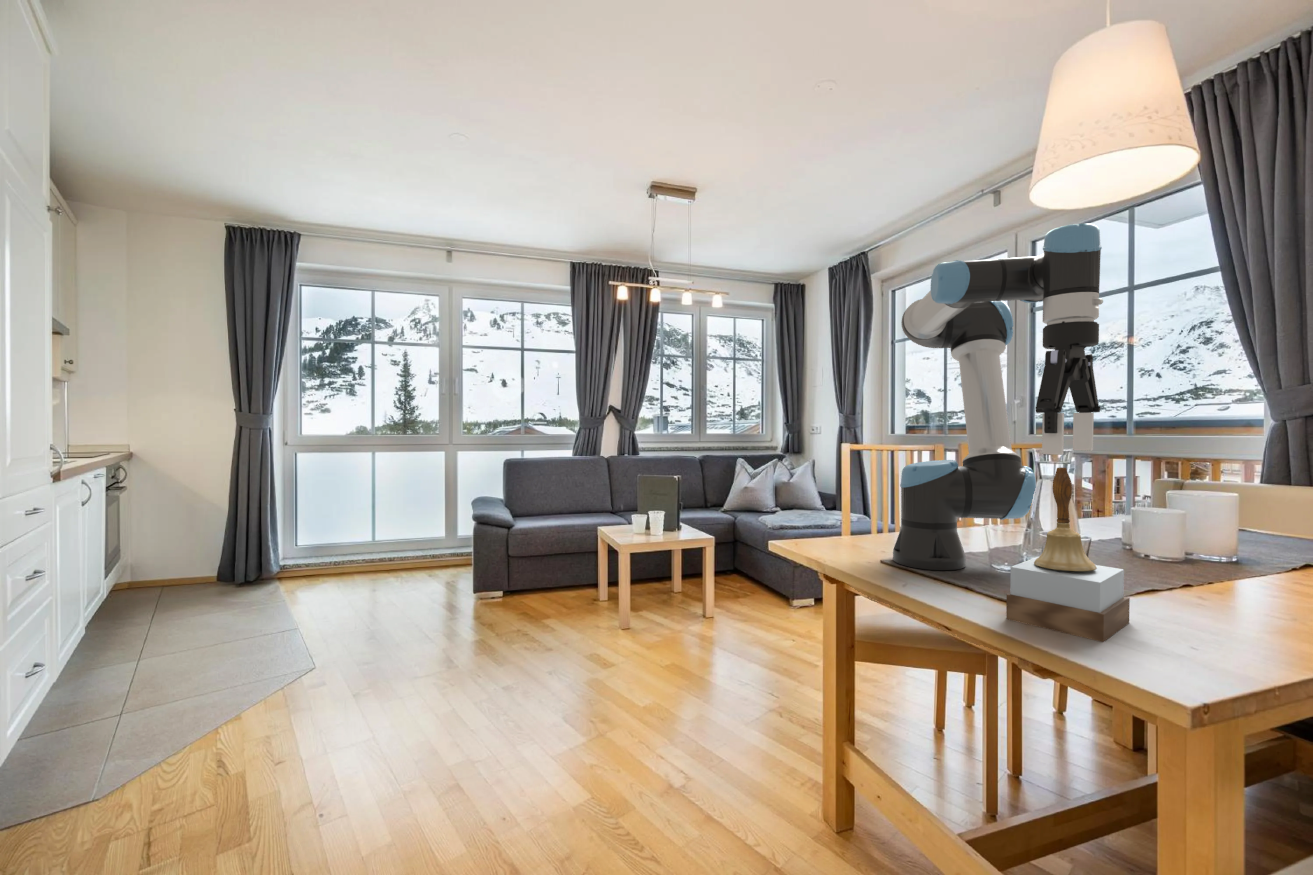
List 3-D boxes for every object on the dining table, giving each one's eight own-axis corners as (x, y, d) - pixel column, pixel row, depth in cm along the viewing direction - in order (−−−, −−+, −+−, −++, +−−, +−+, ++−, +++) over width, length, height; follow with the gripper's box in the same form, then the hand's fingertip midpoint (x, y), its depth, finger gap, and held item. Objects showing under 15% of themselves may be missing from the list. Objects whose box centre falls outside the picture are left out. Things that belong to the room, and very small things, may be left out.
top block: (1010, 594, 95) (1010, 566, 95) (1038, 581, 102) (1038, 555, 102) (1099, 612, 85) (1100, 582, 85) (1123, 597, 93) (1124, 569, 93)
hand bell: (1099, 565, 94) (1094, 466, 94) (1093, 573, 88) (1087, 468, 88) (1039, 559, 100) (1034, 466, 100) (1029, 567, 94) (1024, 468, 94)
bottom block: (1006, 621, 95) (1006, 594, 95) (1037, 605, 103) (1037, 580, 103) (1103, 644, 85) (1103, 614, 85) (1129, 625, 93) (1129, 597, 93)
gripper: (1069, 312, 85) (1067, 457, 85) (1122, 326, 100) (1120, 449, 100) (1013, 319, 91) (1011, 454, 91) (1071, 331, 106) (1069, 448, 106)
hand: (1068, 452), depth 96 cm, fingers open, 13 cm apart
